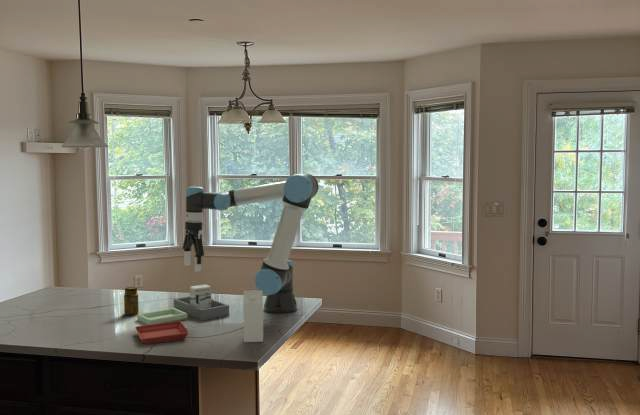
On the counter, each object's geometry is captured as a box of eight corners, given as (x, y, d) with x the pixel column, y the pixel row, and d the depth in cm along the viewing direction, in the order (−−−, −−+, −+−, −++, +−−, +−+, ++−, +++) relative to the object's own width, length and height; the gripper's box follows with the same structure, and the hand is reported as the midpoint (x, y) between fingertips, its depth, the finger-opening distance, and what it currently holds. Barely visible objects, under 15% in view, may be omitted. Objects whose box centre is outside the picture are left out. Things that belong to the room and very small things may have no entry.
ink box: (194, 314, 265) (193, 288, 264) (190, 312, 269) (189, 286, 268) (211, 311, 269) (211, 285, 268) (207, 309, 273) (207, 284, 272)
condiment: (139, 311, 270) (138, 285, 269) (140, 316, 262) (139, 289, 261) (122, 313, 267) (121, 287, 266) (123, 318, 259) (122, 290, 259)
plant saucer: (140, 347, 220) (140, 338, 219) (135, 334, 236) (134, 326, 236) (189, 340, 227) (189, 332, 227) (180, 328, 243) (180, 320, 243)
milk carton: (244, 337, 230) (243, 288, 228) (263, 336, 230) (262, 288, 229) (244, 342, 223) (243, 292, 221) (263, 342, 223) (262, 292, 222)
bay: (229, 315, 263) (229, 305, 263) (202, 320, 254) (201, 310, 254) (199, 304, 284) (199, 294, 283) (173, 308, 275) (173, 299, 275)
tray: (187, 319, 257) (187, 313, 256) (150, 326, 246) (150, 320, 246) (174, 313, 266) (173, 307, 266) (137, 320, 256) (137, 314, 255)
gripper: (176, 218, 273) (175, 263, 275) (195, 225, 252) (194, 274, 254) (192, 217, 277) (190, 262, 279) (212, 224, 256) (210, 273, 258)
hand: (192, 268), depth 266 cm, fingers open, 13 cm apart
